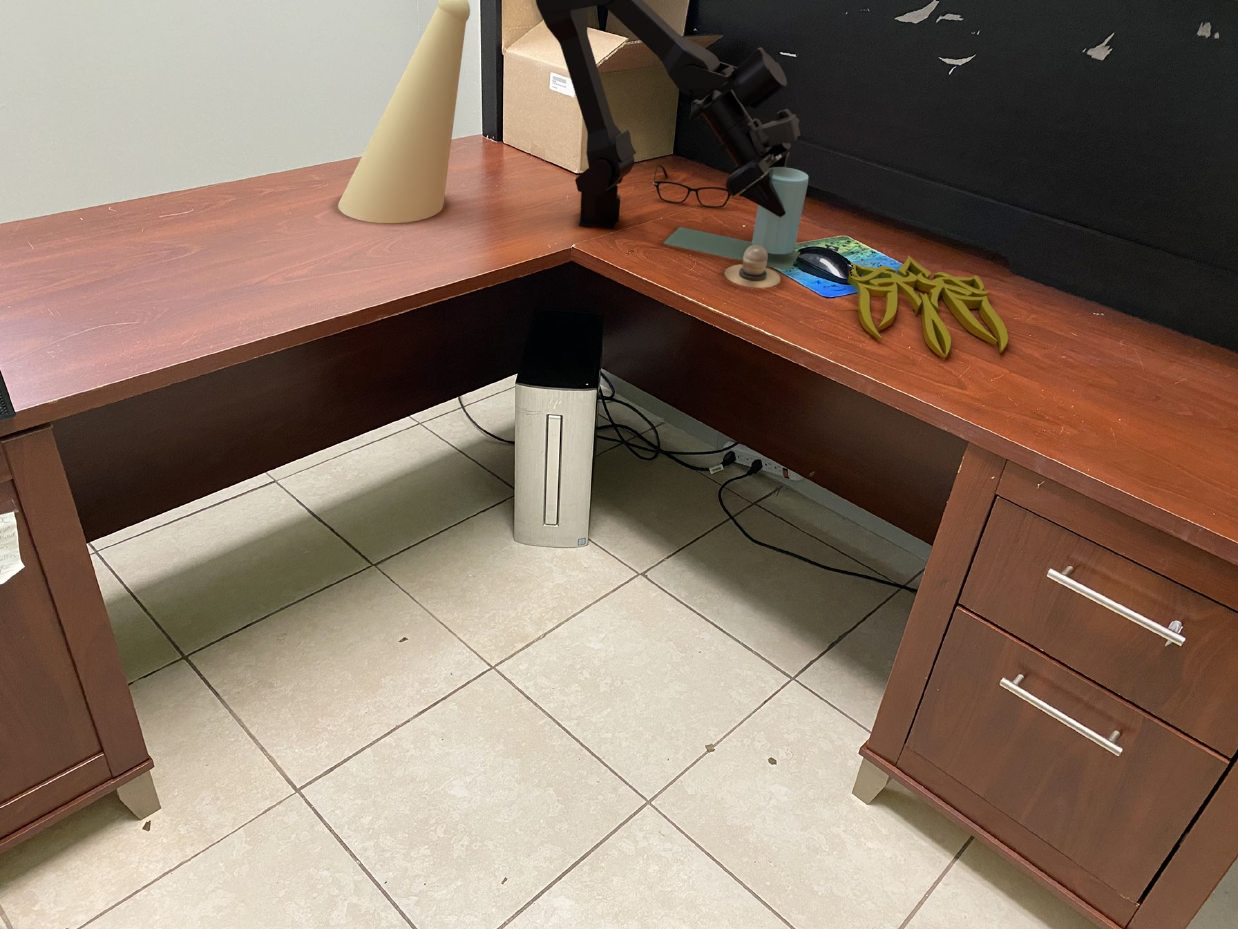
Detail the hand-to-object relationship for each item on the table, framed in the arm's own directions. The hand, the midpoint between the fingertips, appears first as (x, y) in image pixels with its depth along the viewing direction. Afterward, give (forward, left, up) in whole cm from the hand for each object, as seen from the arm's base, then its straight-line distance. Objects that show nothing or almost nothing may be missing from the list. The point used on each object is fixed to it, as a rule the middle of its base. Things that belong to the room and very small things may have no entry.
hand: (788, 208), depth 140 cm
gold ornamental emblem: (+21, -15, -9) cm, 27 cm away
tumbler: (-1, 0, -7) cm, 7 cm away
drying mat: (-8, +3, -9) cm, 12 cm away
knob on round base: (-5, -9, -9) cm, 13 cm away
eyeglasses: (-13, +31, -9) cm, 35 cm away
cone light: (-65, +11, -9) cm, 67 cm away
